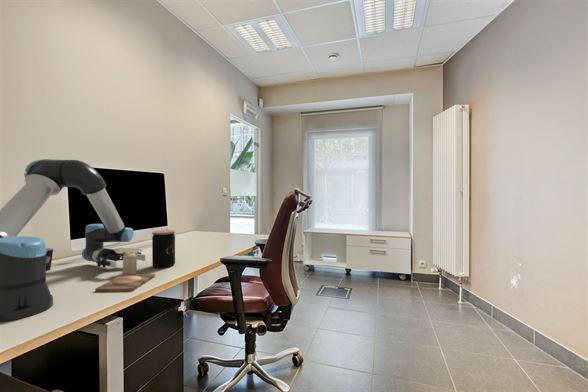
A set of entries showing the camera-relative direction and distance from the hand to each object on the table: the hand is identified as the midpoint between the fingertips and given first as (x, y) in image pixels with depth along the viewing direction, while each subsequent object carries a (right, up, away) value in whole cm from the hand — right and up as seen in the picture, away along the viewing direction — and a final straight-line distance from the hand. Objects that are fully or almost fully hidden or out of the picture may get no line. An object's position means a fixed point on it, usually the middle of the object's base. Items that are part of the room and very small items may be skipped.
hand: (130, 261), depth 125 cm
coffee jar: (+9, -6, +13) cm, 17 cm away
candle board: (+7, -6, -14) cm, 17 cm away
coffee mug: (-47, -6, +4) cm, 48 cm away
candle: (0, -6, 0) cm, 6 cm away
